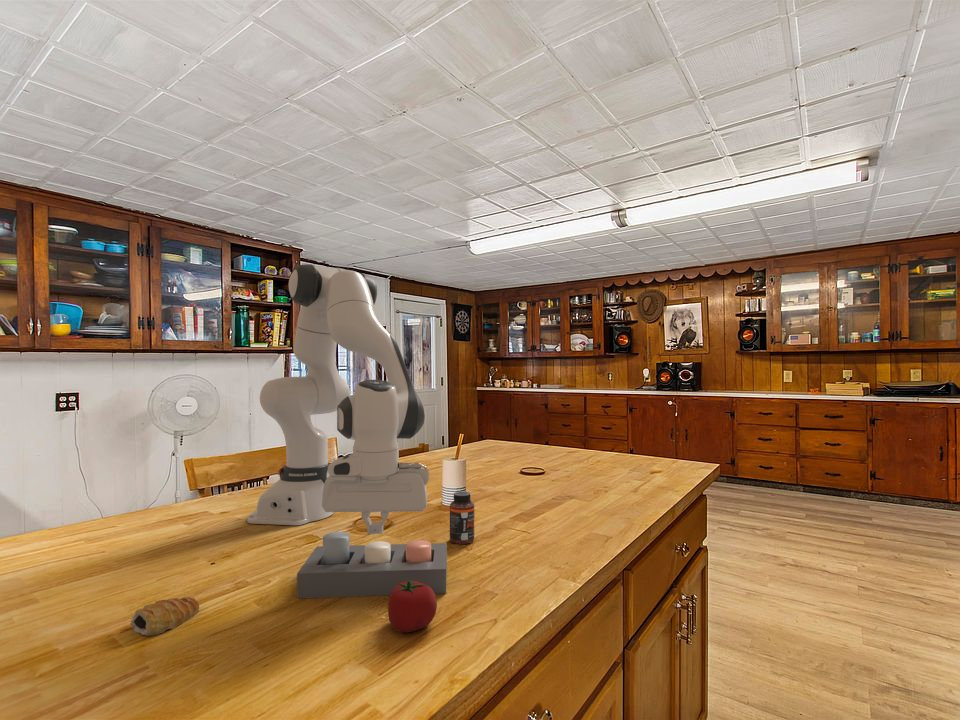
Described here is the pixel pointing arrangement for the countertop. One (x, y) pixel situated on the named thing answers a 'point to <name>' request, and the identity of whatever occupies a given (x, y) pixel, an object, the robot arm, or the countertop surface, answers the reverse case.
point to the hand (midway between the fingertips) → (375, 533)
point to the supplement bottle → (462, 518)
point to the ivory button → (378, 552)
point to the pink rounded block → (418, 551)
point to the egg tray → (370, 573)
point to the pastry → (164, 615)
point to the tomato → (411, 606)
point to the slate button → (336, 548)
